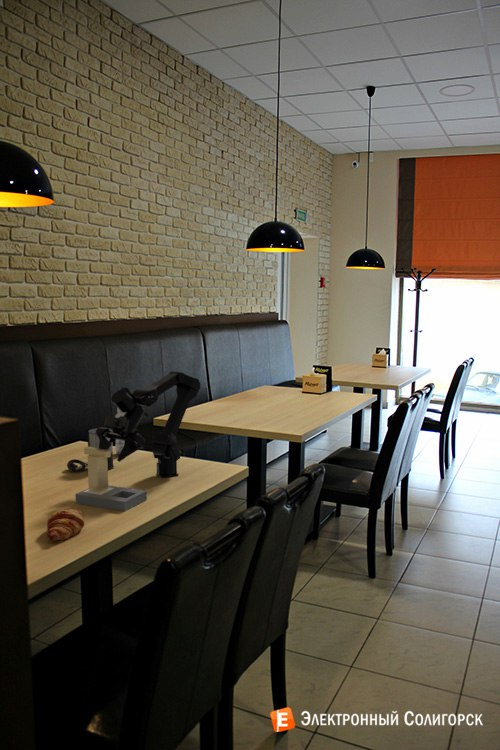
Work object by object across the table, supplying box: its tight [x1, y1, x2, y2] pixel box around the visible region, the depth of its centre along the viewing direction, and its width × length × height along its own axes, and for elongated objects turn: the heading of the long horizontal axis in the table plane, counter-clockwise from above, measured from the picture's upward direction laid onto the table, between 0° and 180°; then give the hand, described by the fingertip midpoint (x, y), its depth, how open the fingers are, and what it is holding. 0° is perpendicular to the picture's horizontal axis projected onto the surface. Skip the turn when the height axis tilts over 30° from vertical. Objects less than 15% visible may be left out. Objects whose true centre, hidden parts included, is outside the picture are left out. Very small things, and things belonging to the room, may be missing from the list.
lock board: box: [75, 484, 148, 512], centre depth 208 cm, size 19×12×3 cm, turn 65°
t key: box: [83, 446, 111, 493], centre depth 210 cm, size 4×10×14 cm, turn 57°
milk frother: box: [66, 427, 115, 472], centre depth 246 cm, size 14×16×15 cm
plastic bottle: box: [114, 406, 125, 455], centre depth 268 cm, size 6×7×20 cm
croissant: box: [46, 508, 85, 542], centre depth 183 cm, size 21×10×8 cm, turn 177°
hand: (108, 459), depth 213 cm, fingers open, 9 cm apart
